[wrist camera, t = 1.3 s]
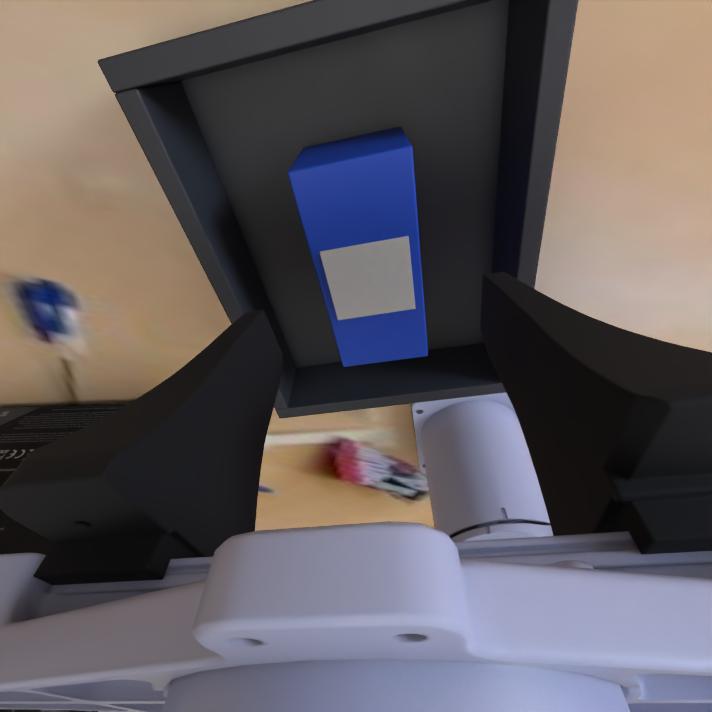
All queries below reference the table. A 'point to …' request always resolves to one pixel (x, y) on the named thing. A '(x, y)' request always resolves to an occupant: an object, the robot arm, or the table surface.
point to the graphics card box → (11, 446)
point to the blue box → (365, 243)
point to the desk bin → (345, 120)
